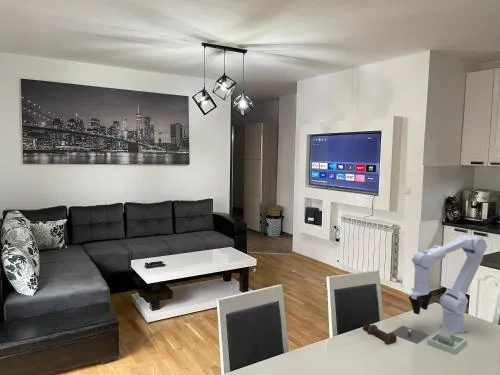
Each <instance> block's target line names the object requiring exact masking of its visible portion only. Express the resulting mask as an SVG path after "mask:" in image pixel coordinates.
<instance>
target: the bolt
mask: <svg viewBox="0 0 500 375" xmlns="http://www.w3.org/2000/svg"><path fill="white" fill-rule="evenodd" d="M362 330H363V331H365V332H367V334H368V335H373V336H374V337H376V338H379V339H380V340H382V341H383V342H385V344H387V345H393V344H395V343H396V344H397V341H398V340H397V336H396V335H395V334H394V333H393V331H391V332H388V333H386V332H385V331H384V330H381V329H379V328H378V326H377V325H376V324H368V323H365V324H363V327H362Z"/></svg>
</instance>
